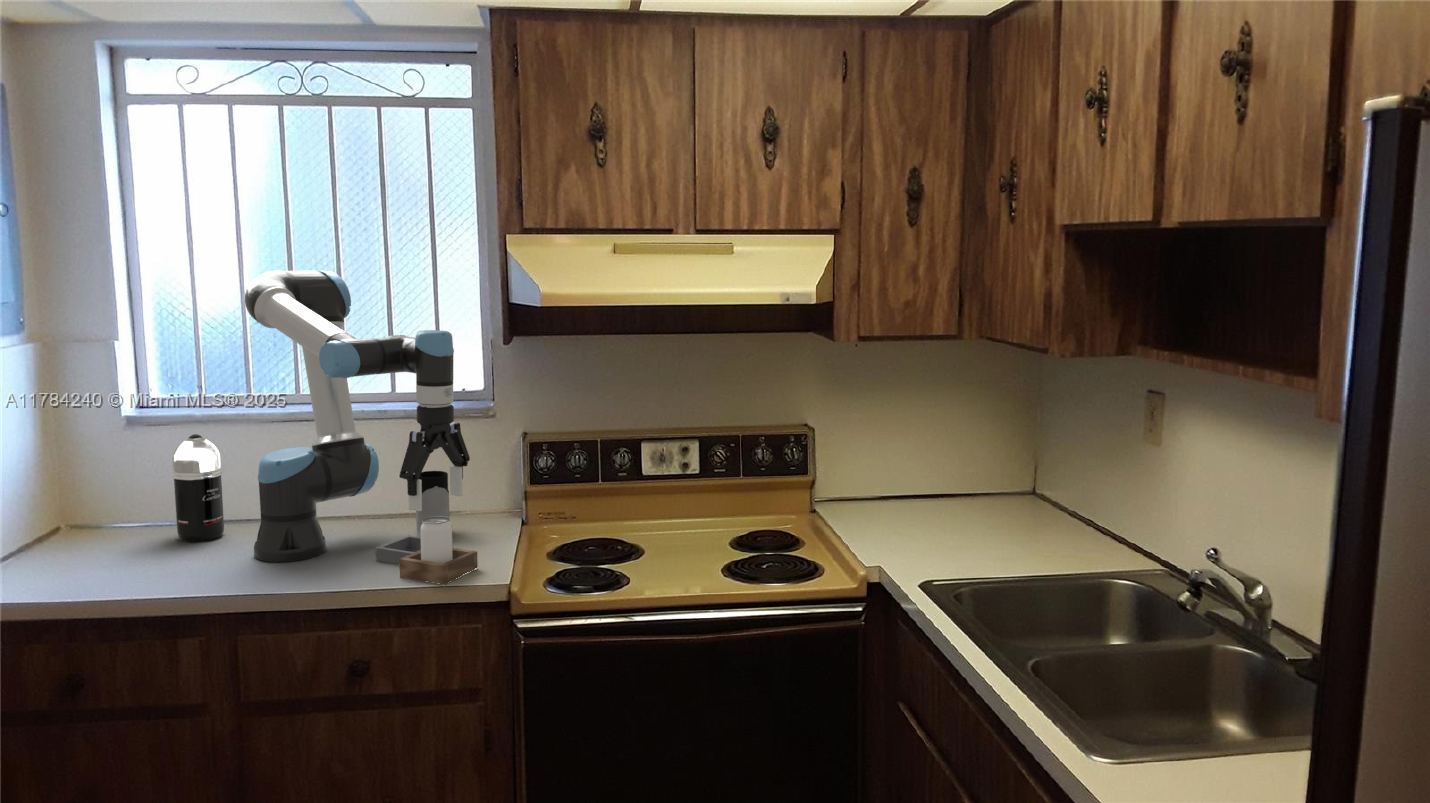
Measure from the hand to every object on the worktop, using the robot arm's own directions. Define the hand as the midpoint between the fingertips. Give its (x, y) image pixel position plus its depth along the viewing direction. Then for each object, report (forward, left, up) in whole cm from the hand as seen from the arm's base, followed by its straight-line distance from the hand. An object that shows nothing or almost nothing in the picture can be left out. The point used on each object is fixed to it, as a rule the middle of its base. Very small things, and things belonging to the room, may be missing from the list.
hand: (436, 502), depth 211 cm
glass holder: (-22, +25, -16) cm, 37 cm away
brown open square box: (0, 0, -16) cm, 16 cm away
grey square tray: (-12, +6, -16) cm, 21 cm away
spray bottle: (-67, -3, -16) cm, 69 cm away
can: (0, -1, -16) cm, 16 cm away
